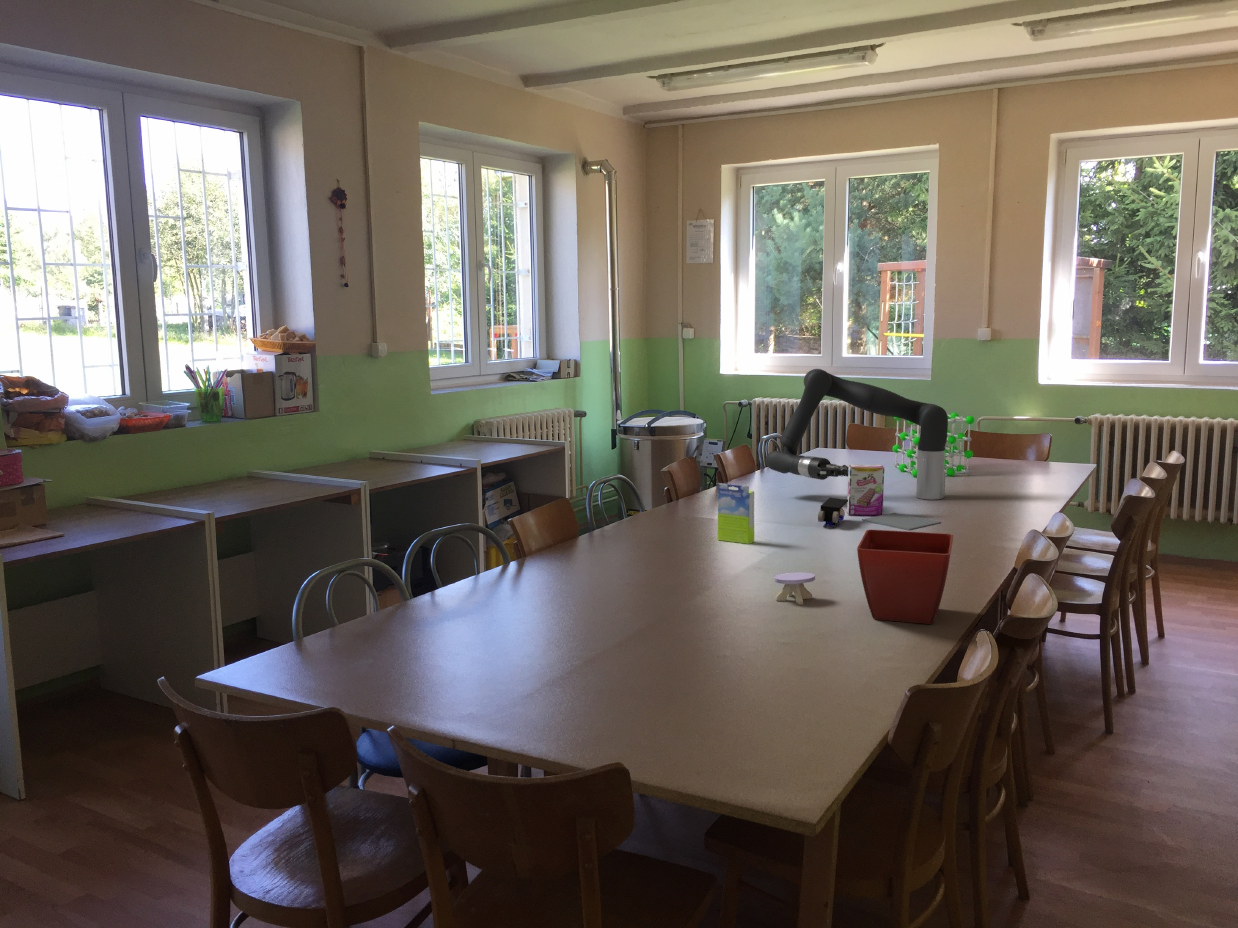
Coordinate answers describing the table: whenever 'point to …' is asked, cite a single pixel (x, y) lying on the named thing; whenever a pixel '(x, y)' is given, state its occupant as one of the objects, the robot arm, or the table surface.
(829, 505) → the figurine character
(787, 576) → the toy table
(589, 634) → the table surface
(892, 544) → the plant pot
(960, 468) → the molecular structure model
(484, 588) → the table surface
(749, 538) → the box
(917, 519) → the mat
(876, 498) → the candy bar box
